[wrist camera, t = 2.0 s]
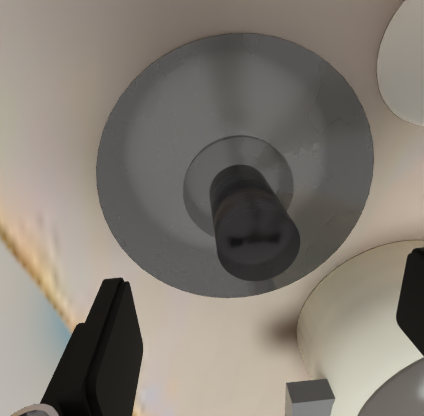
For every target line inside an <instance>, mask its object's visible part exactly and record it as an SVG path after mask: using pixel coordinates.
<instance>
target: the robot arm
mask: <svg viewBox="0 0 424 416" xmlns="http://www.w3.org/2000/svg"><path fill="white" fill-rule="evenodd" d="M396 321H397V324H398V326H399V327H400V328H401V330H402V331H403V332H404V333H405V335H406V336H407V337H408V338H409V339H410V341H411V342H412V343H413V344H414V345H415V347H416V348H417V349H418V350H419V351H420V353H421V354H422V355H423V356H424V247H422V248H415V249H413V250H412V252H411V253H410V254H408V256H407V260H406V265H405V270H404V276H403V281H402V286H401V291H400V296H399V302H398V307H397V312H396ZM142 355H143V342H142V337H141V333H140V328H139V324H138V319H137V315H136V310H135V305H134V301H133V296H132V292H131V287H130V283H129V282H128V281H127V282H124V280H123V278H112V279H105V280H103V282H102V284H101V287H100V289H99V291H98V294H97V296H96V298H95V301H94V303H93V305H92V307H91V310H90V312H89V314H88V317H87V319H86V321H85V323H79V324H78V325H77V326H76V327H75V329H74V331H73V333H72V336H71V338H70V340H69V342H68V344H67V346H66V349H65V351H64V353H63V355H62V357H61V359H60V362H59V364H58V366H57V368H56V370H55V372H54V375H53V377H52V379H51V381H50V383H49V385H48V388H47V390H46V392H45V394H44V396H43V398H42V400H41V402H40V404H34V405H31V406H27V407H24V408H23V409H21V410H19V411H17V412H15V413H14V414H12V415H11V416H132V412H133V407H134V401H135V395H136V390H137V384H138V378H139V373H140V367H141V361H142Z"/></svg>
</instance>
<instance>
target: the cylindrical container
mask: <svg viewBox="0 0 424 416" xmlns="http://www.w3.org/2000/svg"><path fill="white" fill-rule="evenodd" d="M377 80H378V86H379V90H380V93H381V95H382V98H383V100H384V102H385V103H386V105H387V106H388V107H389V109H390V110H391V111H392V112H393V113H394V114H395V115H397V116H398V117H399V118H400V119H403V120H405V121H407V122H409V123H412V124H416V125H420V126H423V127H424V0H405V1H404V2H403V3H402V5H401V6H400V8H399V9H398V10H397V12H396V13H395V14H394V16H393V18H392V19H391V21H390V23H389V25H388V27H387V29H386V31H385V34H384V36H383V39H382V42H381V44H380V49H379V54H378V59H377Z"/></svg>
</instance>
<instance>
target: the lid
mask: <svg viewBox="0 0 424 416" xmlns="http://www.w3.org/2000/svg"><path fill="white" fill-rule="evenodd" d="M373 164H374V154H373V141H372V136H371V131H370V126H369V123H368V120H367V117H366V114H365V112H364V109H363V107H362V105H361V103H360V101H359V99H358V98H357V96H356V94H355V92H354V91H353V89H352V88H351V87H350V85H349V84H348V83H347V81H346V80H345V79H344V77H343V76H342V75H341V74H340V73H339V72H337V71H336V70H335V69H334V68H333V67H332V66H331V65H330V64H329V63H328V62H326V61H325V60H324V59H322V58H321V57H319V56H318V55H316V54H315V53H314V52H312V51H310V50H308V49H306V48H304V47H302V46H300V45H298V44H296V43H293V42H290V41H287V40H284V39H280V38H277V37H274V36H267V35H260V34H253V33H236V34H224V35H218V36H212V37H207V38H204V39H201V40H198V41H194V42H191V43H188V44H186V45H184V46H182V47H180V48H178V49H175V50H173V51H171V52H169V53H167V54H166V55H164V56H163V57H162V58H160V59H159V60H157V61H156V62H154V63H153V64H151V65H150V66H149V67H148V68H147V69H145V70H144V71H143V72H142V73H141V74H140V75H139V76H138V77H137V78H136V79H134V81H133V82H132V83H131V84H130V85H129V87H128V88H127V89H126V90H125V92H124V93H123V94H122V95H121V97H120V98H119V100H118V102H117V103H116V105H115V107H114V108H113V110H112V112H111V113H110V116H109V118H108V121H107V123H106V125H105V128H104V130H103V133H102V137H101V141H100V145H99V149H98V157H97V166H96V175H97V189H98V195H99V201H100V205H101V208H102V211H103V214H104V217H105V220H106V222H107V224H108V226H109V228H110V230H111V232H112V234H113V235H114V237H115V239H116V240H117V242H118V243H119V245H120V246H121V247H122V249H123V250H124V251H125V252H126V253H127V254H128V256H129V257H130V258H131V259H132V260H133V261H134V262H135V263H137V264H138V265H139V266H140V267H141V268H142V269H143V270H145V271H146V272H148V273H149V274H150V275H152V276H153V277H155V278H156V279H158V280H160V281H162V282H164V283H166V284H168V285H170V286H172V287H175V288H177V289H180V290H182V291H186V292H189V293H193V294H197V295H202V296H208V297H219V298H236V297H247V296H253V295H259V294H263V293H266V292H270V291H274V290H276V289H279V288H282V287H284V286H287V285H289V284H291V283H293V282H295V281H297V280H299V279H301V278H302V277H304V276H306V275H307V274H309V273H310V272H312V271H314V270H315V269H316V268H317V267H319V266H320V265H321V264H322V263H324V262H325V261H326V260H327V259H328V258H329V257H330V256H331V255H332V254H333V253H334V252H335V251H336V250H337V249H338V248H339V247H340V246H341V245H342V243H343V242H344V241H345V240H346V238H347V237H348V236H349V234H350V233H351V231H352V229H353V228H354V226H355V225H356V223H357V221H358V219H359V217H360V215H361V213H362V211H363V209H364V206H365V203H366V200H367V198H368V195H369V191H370V186H371V182H372V177H373Z"/></svg>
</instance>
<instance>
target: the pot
mask: <svg viewBox="0 0 424 416" xmlns="http://www.w3.org/2000/svg"><path fill="white" fill-rule="evenodd" d="M422 247H424V240H411V241H401V242H395V243H390V244H386V245H383V246H379V247H376V248H373V249H371V250H368V251H365V252H363V253H361V254H359V255H357V256H355V257H353V258H351V259H350V260H348V261H346V262H345V263H343V264H342V265H340V266H339V267H337V268H336V269H335V270H334V271H332V272H331V273H330V274H329V275H327V276H326V277H325V278H324V279H323V280H322V281H321V282H320V283H319V284H318V286H317V287H316V288H315V289H314V290H313V291H312V293H311V294H310V296H309V297H308V299H307V300H306V302H305V304H304V306H303V308H302V310H301V313H300V316H299V319H298V324H297V331H296V332H297V343H298V347H299V350H300V353H301V356H302V358H303V361H304V364H305V366H306V369H307V372H308V374H309V377H310V380H309V381H300V382H291V383H286V400H285V416H424V356H423V355H422V354H421V353H420V351H419V350H418V349H417V348H416V347H415V345H414V344H413V343H412V342H411V341H410V339H409V338H408V337H407V336H406V335H405V333H404V332H403V331H402V330H401V328H400V327H399V326H398V324H397V321H396V312H397V307H398V302H399V296H400V291H401V286H402V281H403V276H404V270H405V265H406V260H407V256H408V254H410V253H411V252H412V250H413V249H415V248H422Z"/></svg>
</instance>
